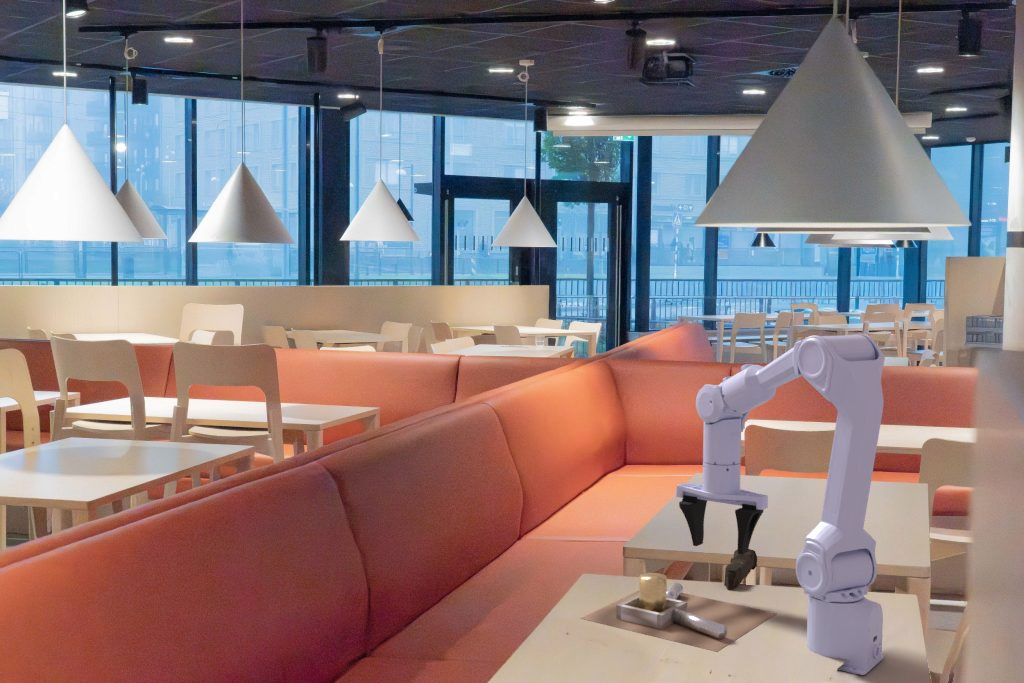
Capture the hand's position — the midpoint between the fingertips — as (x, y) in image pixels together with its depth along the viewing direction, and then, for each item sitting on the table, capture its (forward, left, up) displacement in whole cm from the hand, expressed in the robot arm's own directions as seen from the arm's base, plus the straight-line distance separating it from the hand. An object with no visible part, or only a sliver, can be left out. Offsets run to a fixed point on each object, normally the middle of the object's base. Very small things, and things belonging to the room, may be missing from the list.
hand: (720, 548), depth 166 cm
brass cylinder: (+4, +14, -8) cm, 16 cm away
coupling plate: (+1, +11, -9) cm, 15 cm away
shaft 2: (-4, +15, -8) cm, 18 cm away
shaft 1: (+5, +6, -8) cm, 11 cm away
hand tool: (+3, -14, -10) cm, 18 cm away
